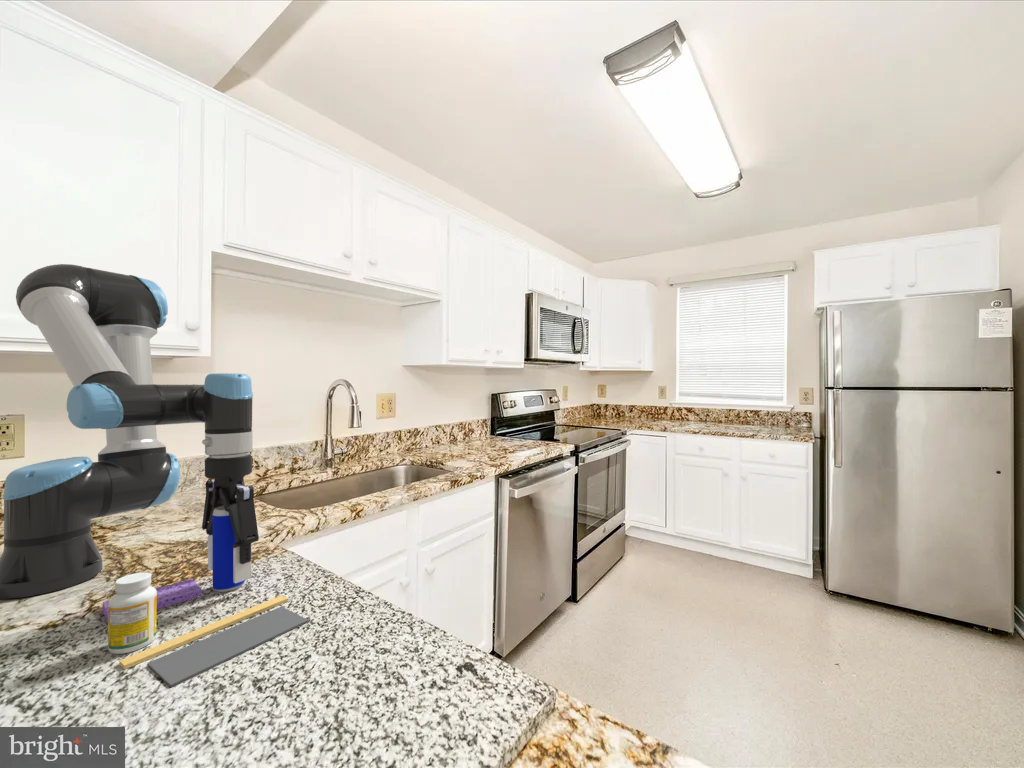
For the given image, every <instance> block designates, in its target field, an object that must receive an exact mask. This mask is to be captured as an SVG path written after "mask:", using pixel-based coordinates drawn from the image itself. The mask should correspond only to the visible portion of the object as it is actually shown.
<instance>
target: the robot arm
mask: <svg viewBox="0 0 1024 768" xmlns="http://www.w3.org/2000/svg"><path fill="white" fill-rule="evenodd" d="M15 300H16V301H15V302H16V305H17V307H18V310H19V311H20V313H21V314H22V316H23V317H24V319H26V320H27V321H28V322H29V323H30V324H32V325H34V326H36V327H38V330H40V333H41V334H42V336H43V337H44V339H45V341H46V342H47V344H48V346H49V347H50V349H51V351H52V352H53V355H54V356H55V357H56V359H57V361H58V362H59V364H60V366H61V367H62V369H63V371H64V372H65V374H66V375H67V378H69V381H70V382H71V384H72V385H73V387H72V388H71V389H70V390H69V392H68V395H67V397H66V411H67V414H68V416H67V419H69V421H70V423H71V425H73V426H75V427H76V428H78V429H81V430H82V429H83V430H87V429H89V430H90V429H95V430H96V429H97V430H98V429H101V430H105V434H106V435H105V438H106V444H105V446H104V447H103V448H102V449H101V450H100V451H99V452H98V453H97V461H94V462H93V460H92V459H91V458H90V457H89V456H73V457H66V458H56V459H52V460H48V461H42V462H37V463H32V464H30V465H26V466H25V465H24V466H22V467H19V468H16V469H14V470H13V471H11V472H9V473H8V475H7V476H6V477H5V480H4V488H3V495H2V499H3V501H4V502H3V551H2V554H1V556H0V600H4V599H5V600H7V599H8V600H9V599H18V598H19V599H20V598H26V597H32V596H37V595H42V594H43V595H45V594H47V593H51V592H55V591H59V590H63V589H66V588H69V587H73V586H77V585H78V584H81V583H83V582H86V581H88V580H91V579H92V577H93V578H94V577H96V576H97V575H96V574H98V573H99V572H100V571H101V570H102V571H103V557H102V556H101V553H100V550H99V549H98V547H97V544H96V543H95V541H94V539H93V536H92V530H91V528H92V526H91V525H92V520H93V519H98V518H102V517H107V516H111V515H116V514H121V513H126V512H132V511H137V510H145V509H149V508H150V507H154V506H159V505H162V504H164V503H167V502H168V501H169V500H170V499H171V498H172V497H173V496H174V494H175V492H176V491H177V489H178V487H179V483H180V480H181V479H180V478H181V466H180V462H179V461H178V458H177V456H176V455H174V454H173V453H169V452H167V446H166V445H165V444H164V443H162V442H161V441H159V439H158V437H157V426H160V425H162V426H165V425H179V424H195V423H197V424H198V423H203V424H204V439H202V442H201V443H202V445H204V454H205V455H207V456H208V457H206V458H205V459H204V477H205V478H207V479H210V480H207V481H206V482H205V500H204V505H203V506H204V508H203V516H202V523H201V524H202V525H201V529H202V530H203V531H204V530H205V533H206V535H208V536H207V571H213V519H212V514H213V512H214V509H215V508H216V507H219V506H223V505H224V508H225V511H227V512H229V516H230V520H231V524H232V528H233V532H234V536H235V540H236V543H235V544H234V545H232V547H233V581H234V583H238V582H241V581H244V580H245V581H246V580H249V579H252V544H253V543H256V542H258V541H259V539H260V537H259V530H258V522H257V516H256V515H257V514H256V507H255V500H254V498H255V496H254V495H255V488H254V486H252V485H251V486H246V484H245V480H244V477H246V476H248V475H249V476H250V474H252V472H253V455H252V454H250V453H251V452H252V451H253V397H254V392H253V391H252V390H253V386H252V377H251V376H250V375H248V374H246V373H228V372H226V373H224V372H221V373H220V372H219V373H218V372H217V373H216V372H215V373H209V374H207V375H206V376H205V378H204V384H194V383H193V384H154V381H153V366H152V355H151V354H152V352H151V339H152V338H153V337H155V336H156V335H157V334H158V329H159V328H162V327H164V325H165V323H166V322H167V316H168V315H169V306H168V305H169V304H168V300H167V297H166V294H165V293H164V291H163V289H162V288H161V287H160V285H158V284H157V283H156V282H154V281H153V280H151V279H146V278H143V277H139V276H136V275H134V274H133V275H132V274H124V273H118V272H112V271H107V270H103V269H98V268H97V269H96V268H91V267H85V266H81V265H78V264H66V263H64V264H63V263H59V264H51V265H46V266H43V267H40V268H38V269H36V270H34V271H32V272H30V273H28V274H27V275H26V276H25V277H24V278H23V279H22V280H21V282H19V284H18V286H17V288H16V294H15ZM102 571H101V572H102ZM101 572H100V573H101ZM100 573H99V574H100ZM99 574H98V575H99ZM95 575H96V576H95ZM90 578H91V579H90Z"/></svg>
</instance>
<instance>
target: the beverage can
mask: <svg viewBox="0 0 1024 768" xmlns="http://www.w3.org/2000/svg"><path fill="white" fill-rule="evenodd" d="M212 519H213V570H212V589H213V590H214V591H215V592H217V593H226V592H227V593H228V592H233V591H234V590H237V588H238V589H240V588H241V587H242V586H243V585H244V583H245V582H246V580H244V581H241V582H238V583H234V581H233V547H232V545H234V544H235V543H236V540H235V536H234V532H233V528H232V524H231V520H230V516H229V512H227V511H225V508H224V505H223V506H219V507H216V508H215V509H214V512H213V514H212Z"/></svg>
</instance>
